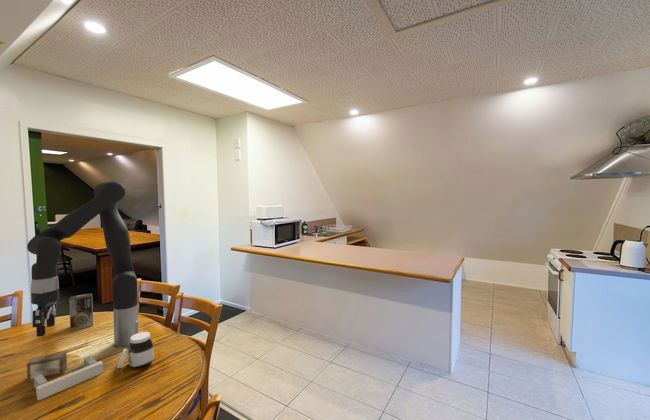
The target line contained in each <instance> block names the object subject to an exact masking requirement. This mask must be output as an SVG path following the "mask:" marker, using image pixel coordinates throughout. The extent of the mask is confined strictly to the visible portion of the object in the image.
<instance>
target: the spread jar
mask: <svg viewBox="0 0 650 420" xmlns="http://www.w3.org/2000/svg"><path fill="white" fill-rule="evenodd" d="M154 351H155V350H154V343H153V340H152V339H151V333H150V332H148V331H143V332H138V333H137V334H135V335H133V336H132V337H131V338H130V343H129V345H127V348H124V349H123V350H122V352H121V355H120V358H119V361H118V364H117V367H116V368H117V369H122V367H123V366H124V363H125V359H126V358H127V362H128V365H129V367H130V368H132V369H134V370H135V369H136V368H137V369H142V368H144V366H145V367H147V366H148V365H150V364H151V363H152V362H153V361H154V359H155V358H154V356H155V355H154V354H155V353H154ZM146 365H147V366H146ZM141 367H142V368H141ZM137 369H136V370H137Z"/></svg>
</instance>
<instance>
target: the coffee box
mask: <svg viewBox="0 0 650 420" xmlns="http://www.w3.org/2000/svg"><path fill="white" fill-rule="evenodd" d="M68 303H69V305H68V306H69V322H70V323H69V324H70V325H69V327H70V331H75V330H80V329H85V328H89V327H93V326H94V311H93V310H94V309H93V307H94V306H93V293H92V292H91V293H84V294H79V295H73V296H70V297H69V300H68Z"/></svg>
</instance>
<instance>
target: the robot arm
mask: <svg viewBox="0 0 650 420" xmlns="http://www.w3.org/2000/svg"><path fill="white" fill-rule="evenodd" d="M126 193H127V191H126V188H125V186H124V185H123V184H122V183H120V182H118V181H108V182H105V181H104V182H100V183H98V184H97V185H96V186H95V187H94V190H93V194H94V198H92V199H91V200H90V201H88V202H87V203H85V204H83V205H81V206H79V207H78V208H76V209H74V210H72V211H71V212H69V213H68V214H66V215H65V216H64V217H62V218H61V219H60V220H58V221H57V222H56V223H54V225H52V226H50V227H48V228H46V229H44V230H42V231H41V232H40V233H38V234H36V235H34V236H32V238H31V239H30V240H29V241H28V243H27V246H26V249H27V251H28V252H29V253H31V254H32V255H36V262H35V263H33V264H32V265H31V270H30V271H31V275H30V276H31V281H30V303H31V305H36V306H37V308H36V310H33V311H32V328H36V337H38V338H39V337H45V336H46V327H47V328H51V327H54V326H55V324H56V317H55V316H56V315H57V313H58V312H59V311H58V300H59V299H60V285H59V284H60V282H59V275H58V264H59V261H60V257H61V254H62V246H61V245H62V244H61V241H62V240H65V239H69V238H71V237H72V236H74V235H75V234H77V233H78V232H79V231H80V230H82V228H84V226H86V225H87V224H89V222H91V221H92V220H93V219H94V218H96V217H97V216H98V215H100V220H101V221H100V222H101V227H102V230H103V239H104V242H105V247H106V250H107V253H108V255H109V258H110V261H111V264H112V271H113V280H112V305H113V306H112V307H113V308H112V309H113V342H114V343H113V345H114V346H115V347H128V345H129V343H130V338H131V337H132V336H133V335H135V334H137V333H139V316H138V314H139V313H138V312H139V311H138V310H139V308H138V306H139V305H138V277H137V274H136V272H135V269H134V266H133V261H132V256H131V255H132V253H131V252H132V249H131V248H132V246H131V237H130V233H129V229H128V226H127V225H126V222H125V221H124V220H123V218H122V216H121V215H120V213H119V209H118V204H117V203H119V202H120V201H122V200H123V199H124V197H126Z"/></svg>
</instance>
